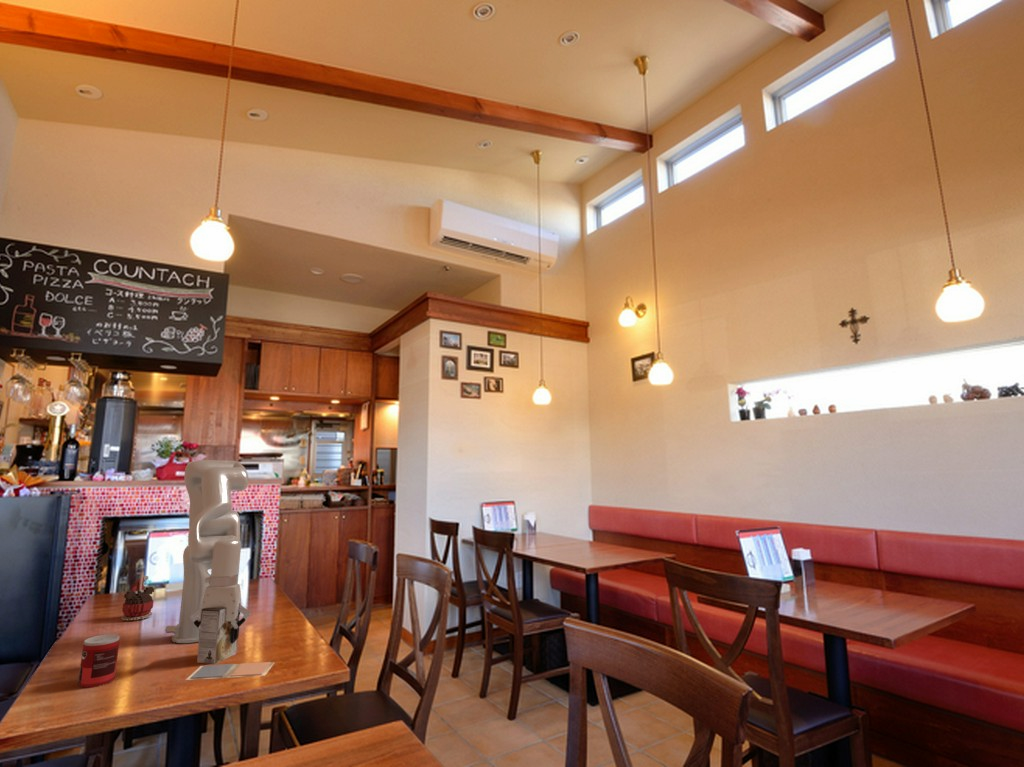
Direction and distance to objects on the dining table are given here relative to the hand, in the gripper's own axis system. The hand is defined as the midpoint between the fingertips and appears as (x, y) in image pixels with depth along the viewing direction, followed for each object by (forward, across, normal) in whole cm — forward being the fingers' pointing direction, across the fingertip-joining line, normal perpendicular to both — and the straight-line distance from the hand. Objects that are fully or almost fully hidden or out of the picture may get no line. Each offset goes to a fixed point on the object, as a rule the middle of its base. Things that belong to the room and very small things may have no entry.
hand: (218, 642), depth 155 cm
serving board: (+6, +8, -12) cm, 15 cm away
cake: (+6, -47, +53) cm, 71 cm away
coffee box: (+6, 0, 0) cm, 6 cm away
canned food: (+6, -26, -11) cm, 29 cm away
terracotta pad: (+4, +13, -11) cm, 18 cm away
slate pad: (+4, +3, -12) cm, 13 cm away
